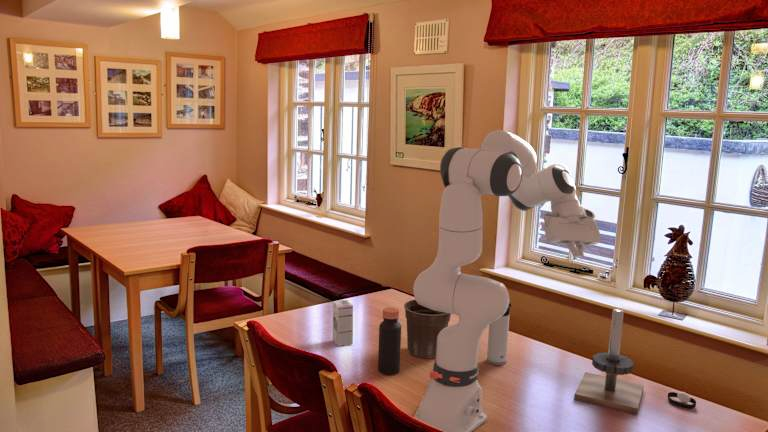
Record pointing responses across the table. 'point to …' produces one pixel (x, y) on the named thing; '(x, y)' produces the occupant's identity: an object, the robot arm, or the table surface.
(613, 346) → the metallic rounded rod
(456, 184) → the robot arm
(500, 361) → the travel mug
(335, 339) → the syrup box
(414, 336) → the plant pot
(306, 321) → the table surface
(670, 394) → the watch
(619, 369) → the grey gear
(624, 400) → the stand
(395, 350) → the bottle
